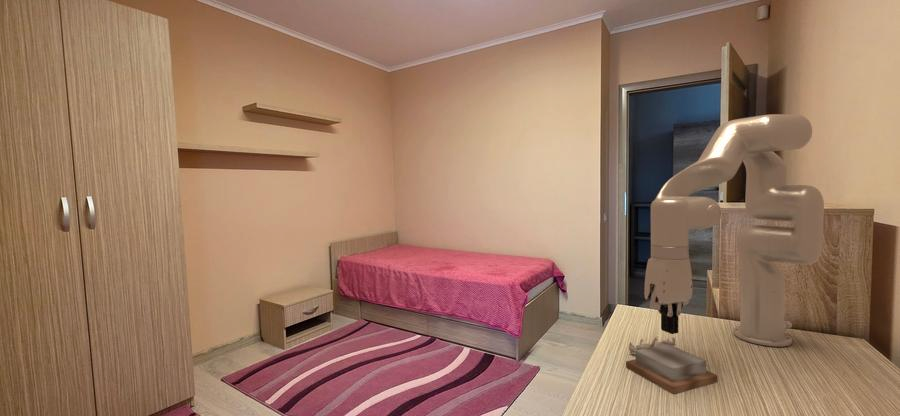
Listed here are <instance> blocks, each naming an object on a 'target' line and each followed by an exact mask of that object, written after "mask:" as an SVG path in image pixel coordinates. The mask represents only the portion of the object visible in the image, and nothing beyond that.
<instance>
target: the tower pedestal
mask: <svg viewBox="0 0 900 416" xmlns="http://www.w3.org/2000/svg"><path fill="white" fill-rule="evenodd" d="M625 368H626V369H628V370H630V371H631V372H634V374H637V375H639V376H640V377H642V378H644V379H646V380H648V381H650V382H651V383H653V384H655V385H657V386H658V387H660V388H661V389H663V390H665V391H667V392H670V393H671V394H673V395H675V394H680V393H682V392H686V391H687V392H688V391H690V390H694V389H697V388H700V387H704V386H708V385H711V384H716V383H718V374H715V373H713V372H712V371H709V370H707V360H706V359H704V358H701V357H699V356H697V355H695V354H692V353H690V352H687V351H685V350H683V349H680V348H677V346H672V345H669V344H663V345H659V346H654V347H650V348H645V349H641V350H636V353H635V359H630V360H626V361H625Z"/></svg>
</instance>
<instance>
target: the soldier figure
mask: <svg viewBox="0 0 900 416" xmlns="http://www.w3.org/2000/svg"><path fill="white" fill-rule="evenodd" d="M658 338H659V336H655V337H654V339H652V341H651V343H643V342H644V340H643V338H641V339H640V342H639V343H638V344H637V345H636V346H635V345H634V344H633V343H632V342H630V343H629V344H628V350H629V353H630V354H632V353H633V354H636V350H641V349H645V348H650V347H654V346H659V345H663V344H669V345H671V346H674V347H676V339H675V337H674V336H673V337H672V338H671V341H670V338H667V339H666V340H665V339H661V341H658Z"/></svg>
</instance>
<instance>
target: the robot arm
mask: <svg viewBox="0 0 900 416" xmlns="http://www.w3.org/2000/svg"><path fill="white" fill-rule="evenodd" d="M812 136H813V126H812V124H811V121H810V120H809V119H808V118H807V117H806V116H803V115H802V114H787V113H786V114H783V113H782V114H777V113H775V114H774V113H773V114H763V115H755V116H749V117H743V118H737V119H733V120H732V119H731V120H728V121H726V122H723V123H722V124H721V125H719V127H717V128H716V130H715V132H714V133H713V135H712V137H711V138H710V140H709V142H708V143H707V145H706V147H705V148H704V150H703V152H702V153H701V155H700V157H699V158H698V160H697V161H695V162H694V163H692V164H691V165H688V166H687V167H685V168H684V169H682V170H680V171H679V172H678V173H676V174H675V175H673V176H672V177H671V178H669V179H668V180H667V181H666V182H665V183H664V184H663V186H662V187H660V188H661V189H660V190H659V191H658V193H657V195H656V197H655V198H654V200H653V201H652V202H651V204H650V258H648V260H647V263H646V269H645V277H644V289H643V290H644V293H643V294H644V298H645V300H647V301H649V308H650V309H652V310H655V311H658V313H659V314H660V329H661V331H663V332H665V333H668V334H669V335H670V334H671V335H675V334H678V333H679V316H680V315H681V312H682V308H683V307H684V306H686V305H688V304H689V303H690V300H691V299H692V297H693V274H692V267H691V261H690V258H689V257H690V250H689V249H690V244H689V243H690V240H689V239H690V231H689V230H690V229H691V230H692V229H693V230H694V229H695V230H707V229H710V228H713V227H714V226H716V225H717V224H718V223H719V221H720V219H721V216H722V210H721V206H720V204H719V203H718V202H717V201H716V200H714V199H713V198H712V197H711V198H710V197H707V196H691V195H692V194H694V193H695V194H696V193H697V192H699V191H702V190H705V189H709V188H712V187H715V186H718V185H722V184H724V183H726V182H728V181H730V180H732V179H733V178H734V177H735V175H736V174H737V172H738V170H739V168H740V167H741V165H742V163H743V165H744V166H745V173H746V178H745V180H746V181H745V203H744V205H745V206H744V207H745V212H746V214H747V216H748V217H749V218H752V219H755V220H761V221H775V222H776V221H777V222H792V223H793V225H794V226H781V225H770V224H769V225H766V224H751V225H746V226H743V227H742V228H741V229H739V231H738V232H737V235H736V239H735V240H736V241H735V243H736V248H737V251H738V257H739V264H740V267H739V268H740V269H739V270H740V283H739V284H740V286H739V287H740V293H739V294H740V295H739V296H740V303H739V304H740V306H739V308H740V309H739V310H740V311H739V313H740V314H739V317H740V318H739V319H740V320H739V322H740V323H739V326H736V327H734V328H733V330H732V331H733V335H735V337H737V338H738V339H741V340H743V341H745V342H747V343H751V344H756V345H760V346H765V347H766V346H768V347H788V346H790V345H792V341H793V338H792V337H791V336H790V335H788V334H787V333H786V332H785V331H786V330H787V329H791V328H792V327H793V324H792V322H791V321H789V320H785V313H786V312H785V305H786V304H785V303H786V301H785V300H786V299H785V297H786V295H785V294H786V277H785V275H784V272H783V270H782V269H781V268H780V266H779V264H777V262H778V263H786V264H794V265H799V266H800V265H801V266H803V265H804V266H808V265H809V266H810V265H813V264H815V263H817V262H818V261H819V259H820V257H821V254H822V251H823V239H824V238H823V236H824V235H823V234H824V220H825V219H824V217H825V202H824V201H825V200H824V197H823V195H822V192H821V191H820V190H819V189H818V188H817V187H815V186H813V185H807V184H790V185H789V184H787V174H788V173H787V171H788V169H787V165H786V163H785V162H784V160H783V159H782V158H781V157H780V156H779V155H778V154H777V153H775V152H779V151H794V150H800V149H802V148H804V147H805V146H807V144H808V143H809V142H810V140H811V138H812Z"/></svg>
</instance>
